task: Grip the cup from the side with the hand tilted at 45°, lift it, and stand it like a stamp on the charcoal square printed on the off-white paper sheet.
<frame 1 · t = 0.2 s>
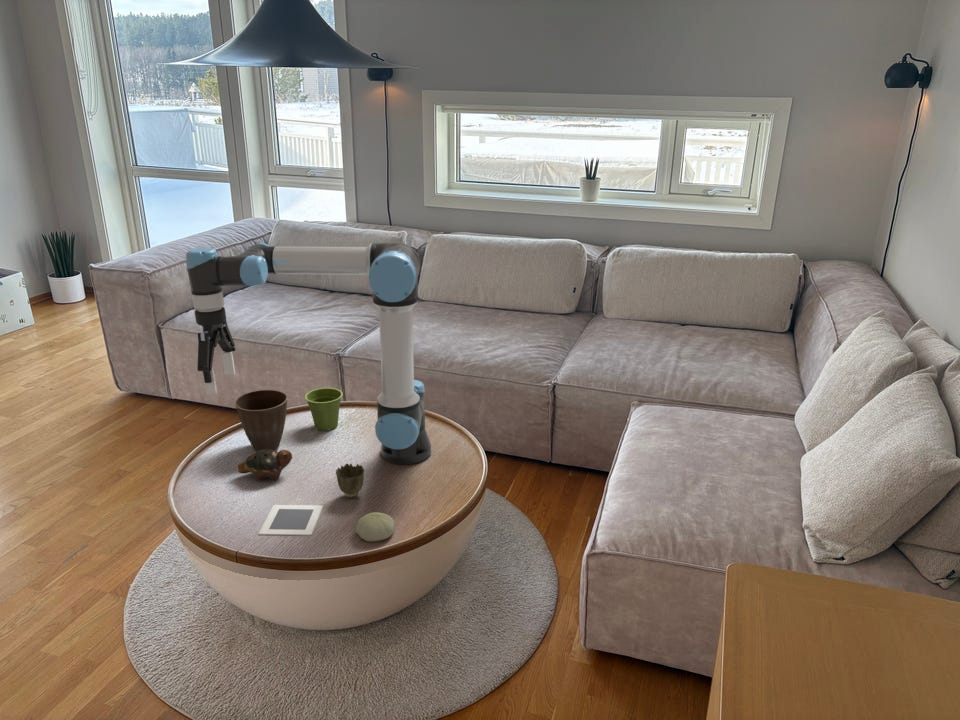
hand: (221, 383, 194), 28 cm above the table, tool pointing down, fingers open, 13 cm apart
sea urchin shell: (375, 534, 176), on the table
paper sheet: (292, 520, 181), on the table
plant pot 2: (326, 427, 232), on the table
plant pot: (266, 448, 218), on the table
decorative turtle: (266, 476, 202), on the table
cup: (351, 496, 192), on the table
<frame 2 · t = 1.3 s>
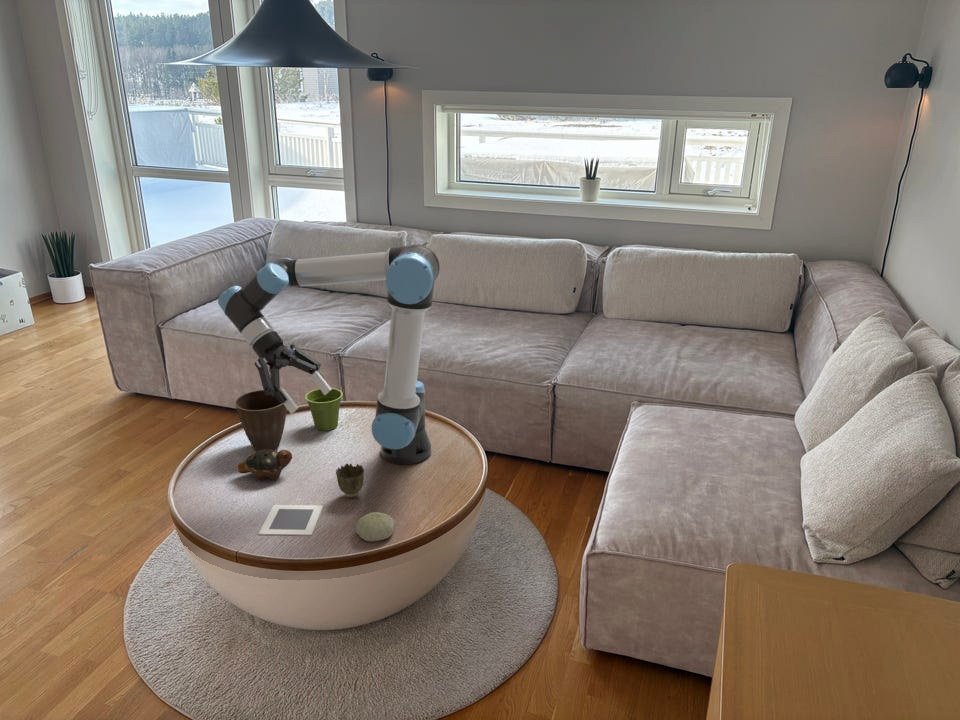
hand: (312, 401, 188), 26 cm above the table, tool tilted 45°, fingers open, 13 cm apart
nothing on the table moved.
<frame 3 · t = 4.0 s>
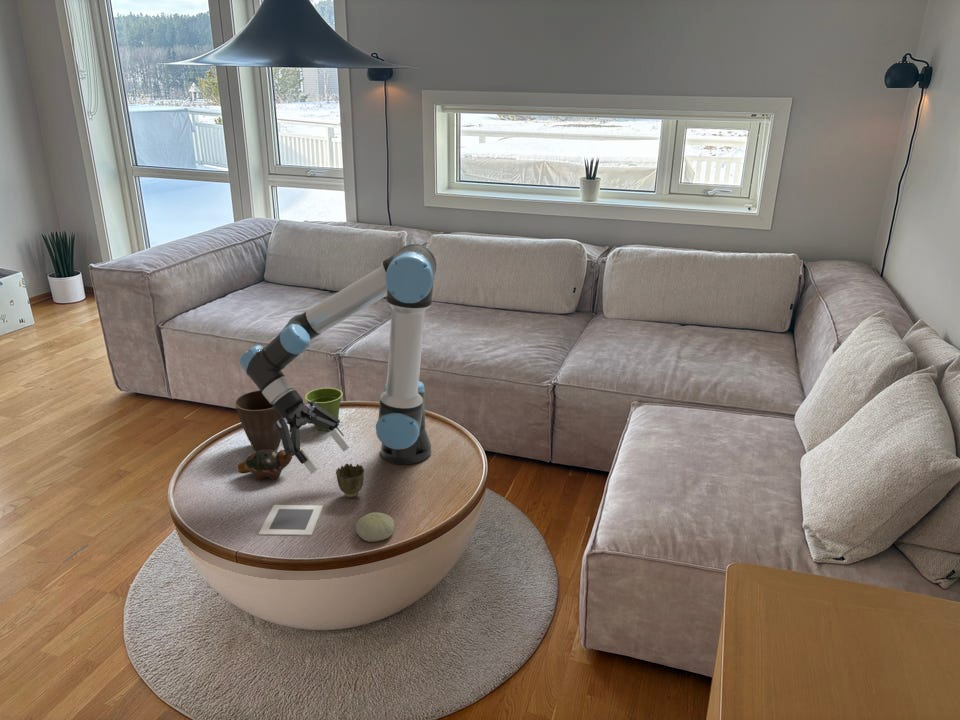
hand: (331, 459, 190), 10 cm above the table, tool tilted 45°, fingers open, 13 cm apart
nothing on the table moved.
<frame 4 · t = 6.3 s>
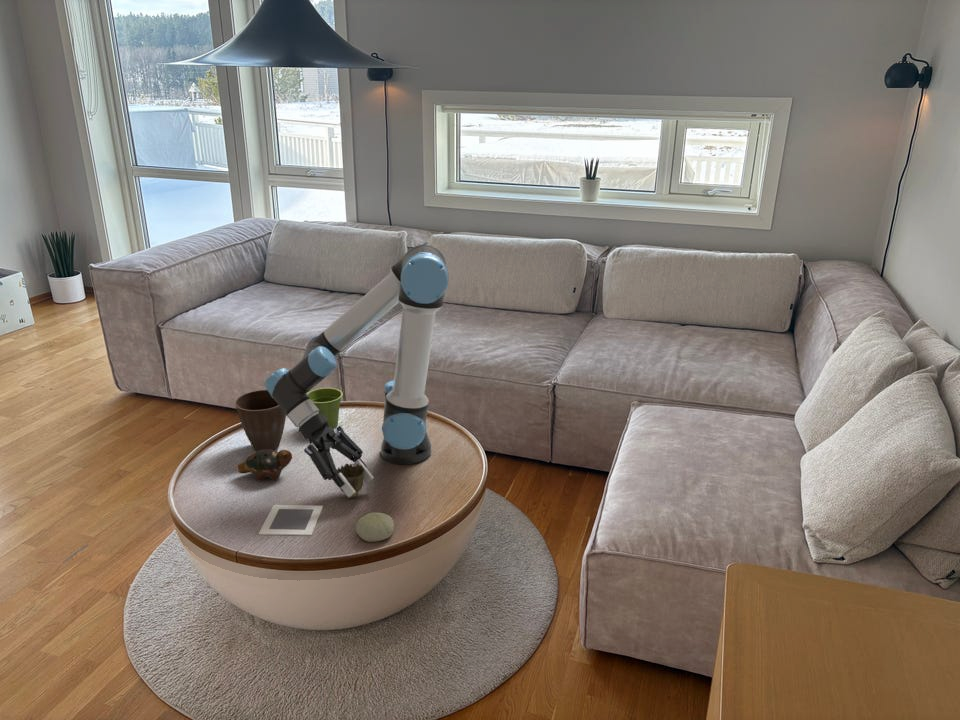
hand: (361, 487, 190), 4 cm above the table, tool tilted 45°, fingers closed on cup, 7 cm apart
cup: (351, 496, 192), on the table, touching gripper
everything else where it was.
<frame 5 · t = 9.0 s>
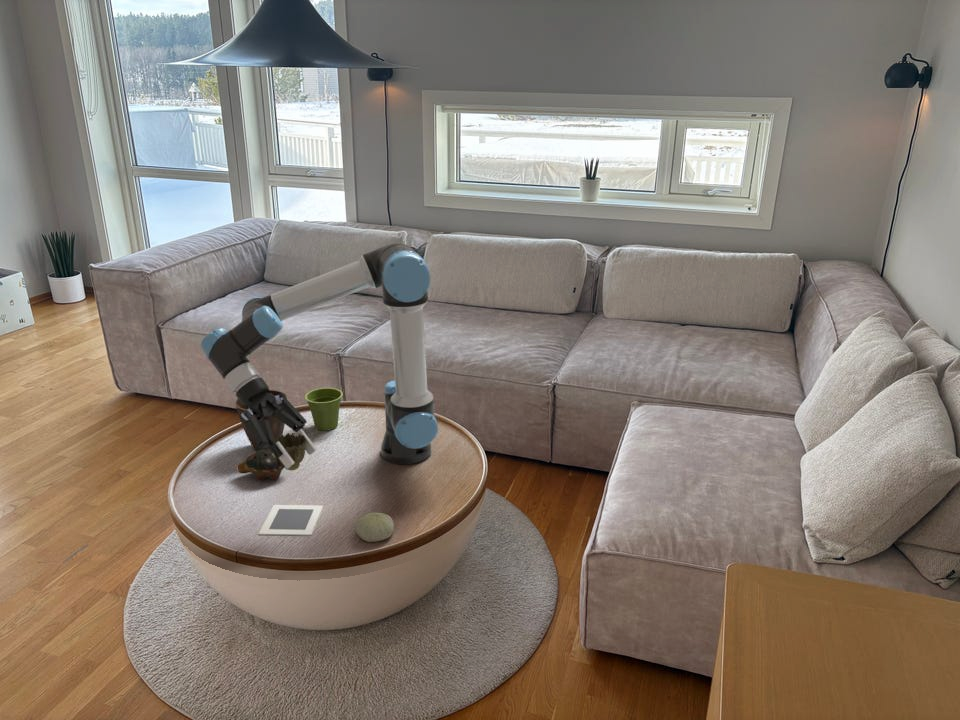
hand: (302, 458, 175), 17 cm above the table, tool tilted 45°, fingers closed on cup, 7 cm apart
cup: (292, 468, 178), point 14 cm above the table, touching gripper
everything else where it was.
when the fingers open (5 cm above the table, at t = 11.8 s): cup drops 1 cm, resting on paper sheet.
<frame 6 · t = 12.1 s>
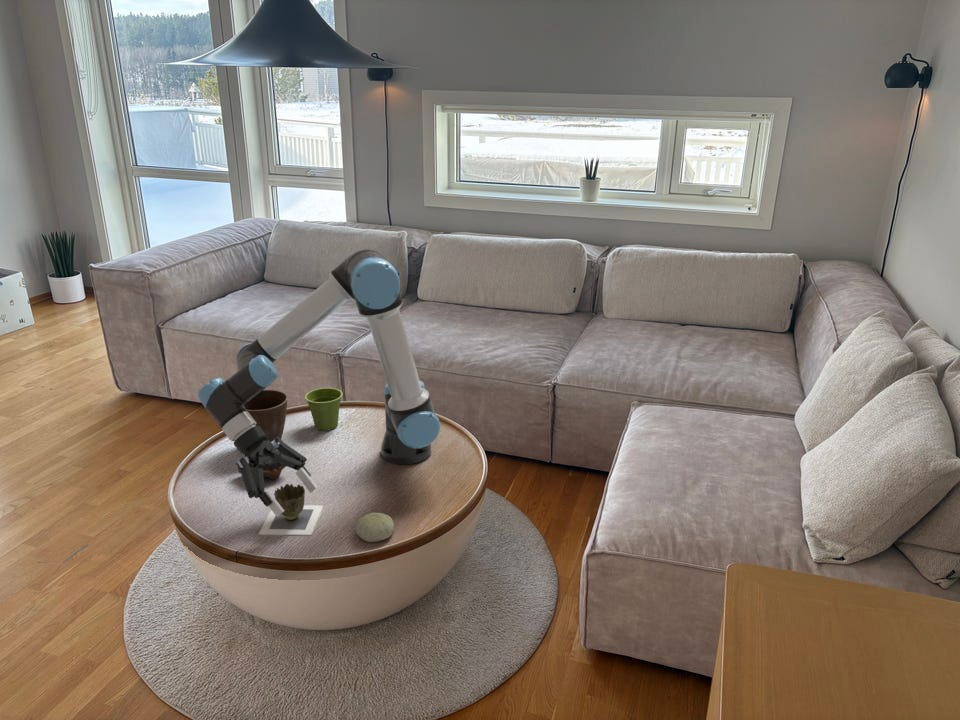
hand: (298, 501, 178), 6 cm above the table, tool tilted 45°, fingers open, 12 cm apart
cup: (292, 518, 181), resting on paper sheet
everything else where it was.
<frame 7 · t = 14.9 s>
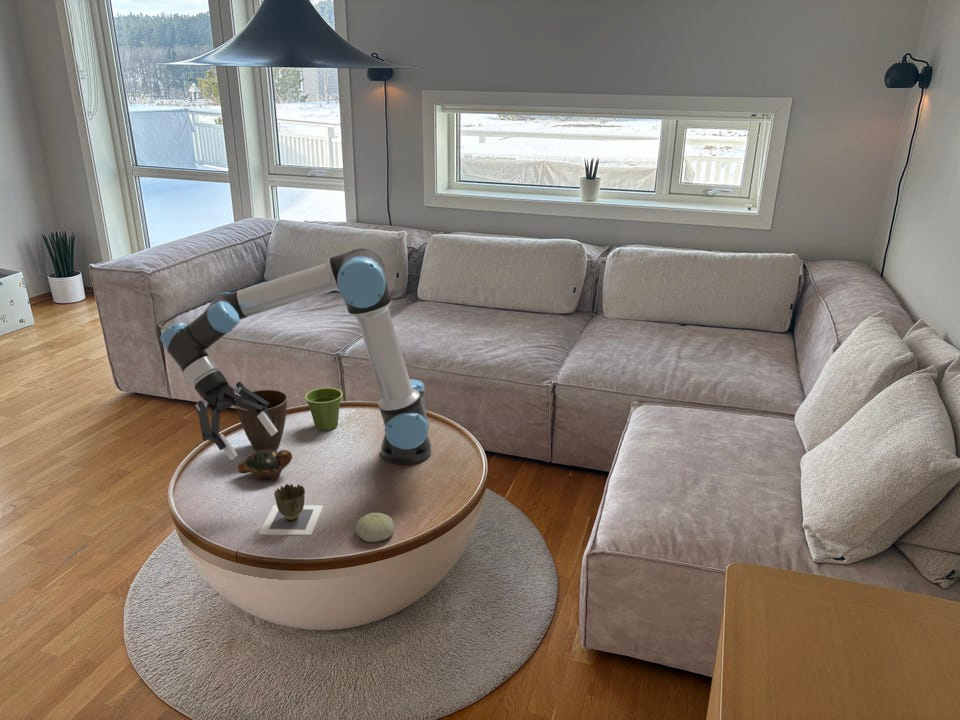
hand: (255, 445, 181), 18 cm above the table, tool tilted 40°, fingers open, 13 cm apart
nothing on the table moved.
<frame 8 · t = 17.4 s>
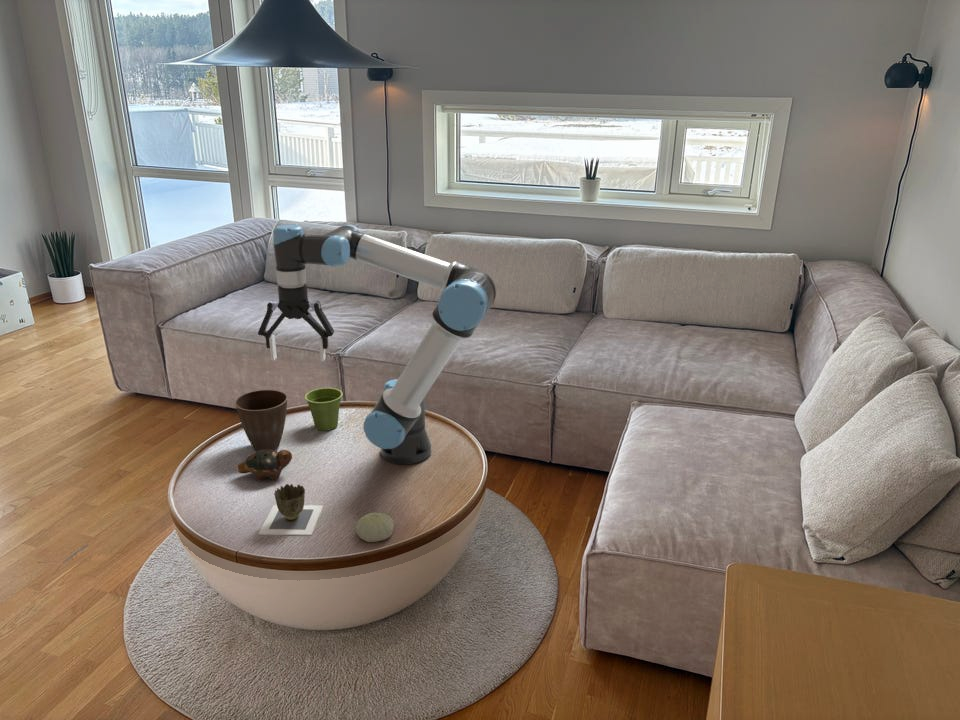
hand: (298, 359, 197), 33 cm above the table, tool pointing down, fingers open, 13 cm apart
nothing on the table moved.
at the end: cup inside the target area on the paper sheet (0.3 cm from its centre), point 0.2 cm above the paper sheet's base; cup tilted 0°; the gripper is holding nothing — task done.
